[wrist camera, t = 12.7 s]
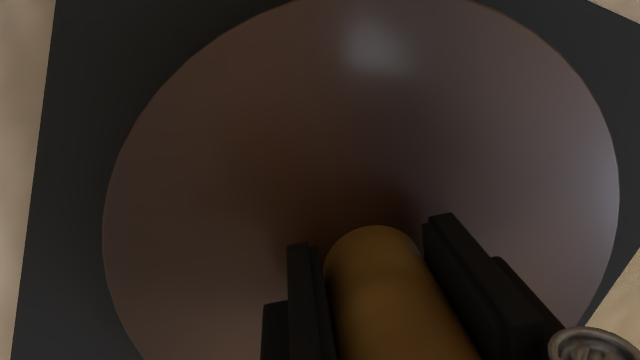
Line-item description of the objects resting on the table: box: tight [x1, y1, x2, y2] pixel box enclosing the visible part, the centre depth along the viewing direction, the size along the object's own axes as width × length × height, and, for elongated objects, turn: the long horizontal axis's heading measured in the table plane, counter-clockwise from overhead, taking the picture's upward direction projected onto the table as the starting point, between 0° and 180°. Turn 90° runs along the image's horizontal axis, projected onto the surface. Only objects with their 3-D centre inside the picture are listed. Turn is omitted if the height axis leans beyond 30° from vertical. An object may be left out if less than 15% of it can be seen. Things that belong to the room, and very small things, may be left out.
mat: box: [10, 0, 640, 360], centre depth 13 cm, size 18×16×1 cm
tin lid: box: [102, 0, 620, 360], centre depth 9 cm, size 14×14×6 cm
